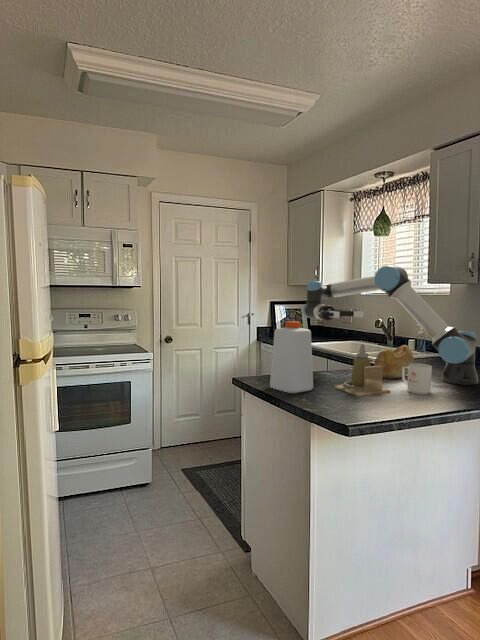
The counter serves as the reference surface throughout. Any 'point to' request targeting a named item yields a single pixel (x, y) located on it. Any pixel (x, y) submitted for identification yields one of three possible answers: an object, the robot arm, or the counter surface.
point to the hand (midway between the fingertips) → (351, 314)
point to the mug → (418, 378)
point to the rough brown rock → (394, 361)
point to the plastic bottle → (292, 359)
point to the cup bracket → (366, 383)
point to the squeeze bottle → (360, 367)
